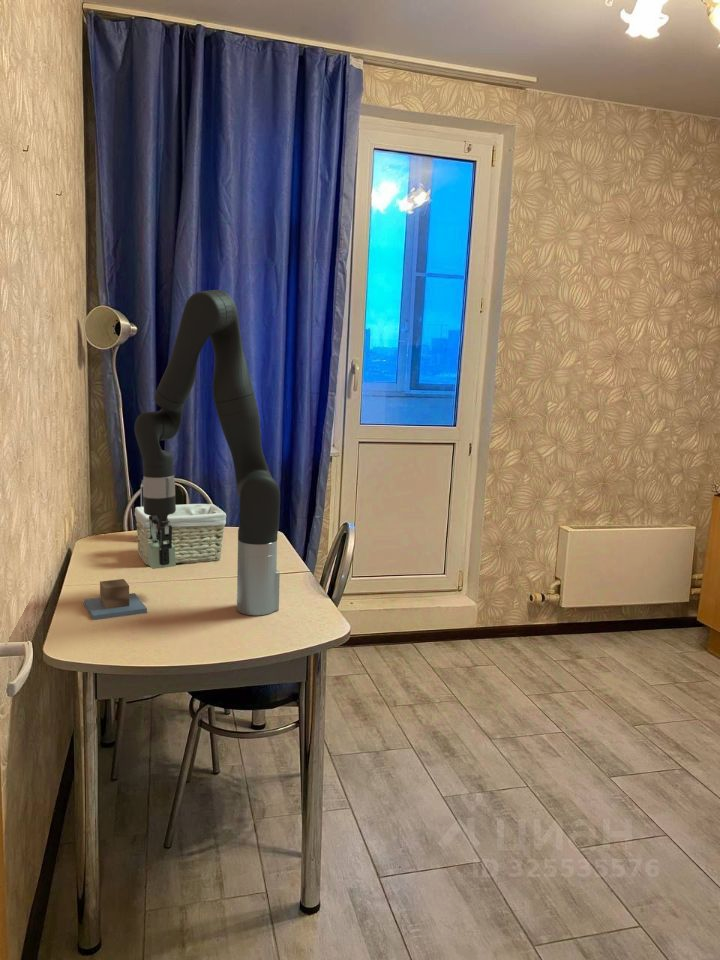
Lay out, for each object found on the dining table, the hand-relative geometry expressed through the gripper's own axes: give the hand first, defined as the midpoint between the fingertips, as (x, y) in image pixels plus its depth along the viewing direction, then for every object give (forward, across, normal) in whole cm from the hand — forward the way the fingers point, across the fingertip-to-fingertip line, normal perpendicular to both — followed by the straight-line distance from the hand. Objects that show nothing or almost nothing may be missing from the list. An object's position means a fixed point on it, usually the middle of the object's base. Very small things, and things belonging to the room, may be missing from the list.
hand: (161, 560), depth 182 cm
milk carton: (+9, +56, -10) cm, 58 cm away
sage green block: (+1, 0, 0) cm, 1 cm away
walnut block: (+8, -4, +12) cm, 15 cm away
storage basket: (+10, +33, -13) cm, 37 cm away
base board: (+9, -4, +12) cm, 16 cm away
